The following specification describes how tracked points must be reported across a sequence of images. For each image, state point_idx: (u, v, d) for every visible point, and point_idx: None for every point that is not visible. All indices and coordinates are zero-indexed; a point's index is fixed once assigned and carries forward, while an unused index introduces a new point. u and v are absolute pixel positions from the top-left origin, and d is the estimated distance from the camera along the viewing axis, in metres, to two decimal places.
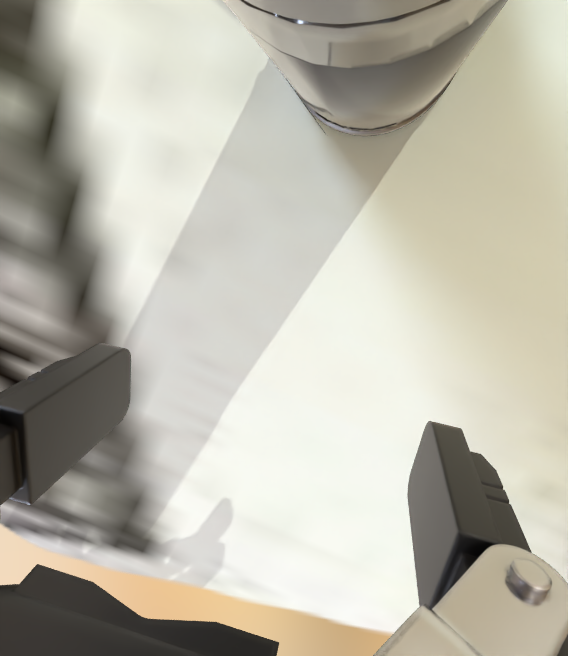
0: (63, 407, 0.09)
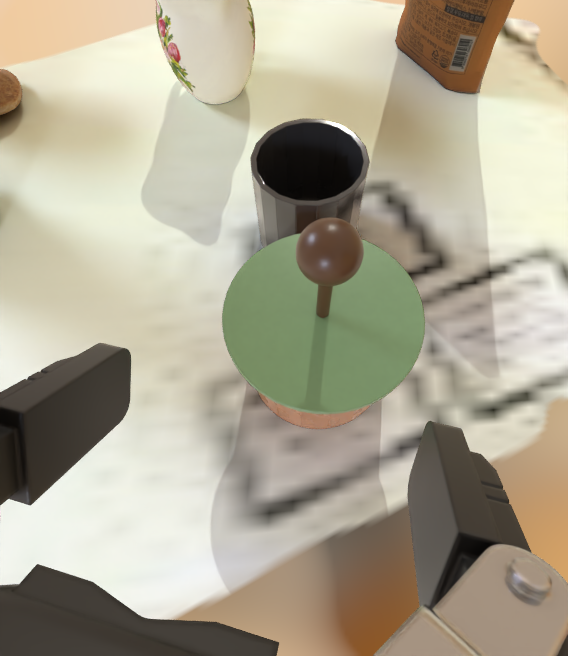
0: (63, 407, 0.09)
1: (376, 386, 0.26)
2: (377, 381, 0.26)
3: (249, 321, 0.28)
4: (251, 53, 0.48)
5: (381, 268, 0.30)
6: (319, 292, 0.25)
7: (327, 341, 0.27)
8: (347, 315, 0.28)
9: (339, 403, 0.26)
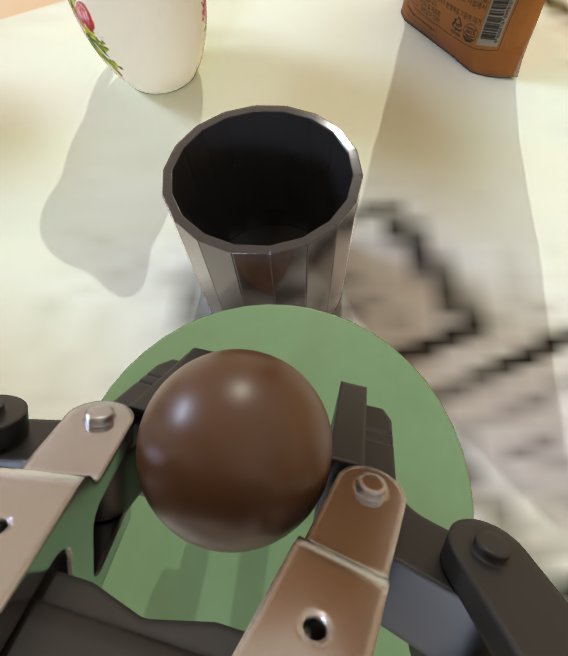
0: None
1: None
2: None
3: None
4: (200, 20, 0.34)
5: (383, 382, 0.15)
6: None
7: (270, 552, 0.13)
8: None
9: None
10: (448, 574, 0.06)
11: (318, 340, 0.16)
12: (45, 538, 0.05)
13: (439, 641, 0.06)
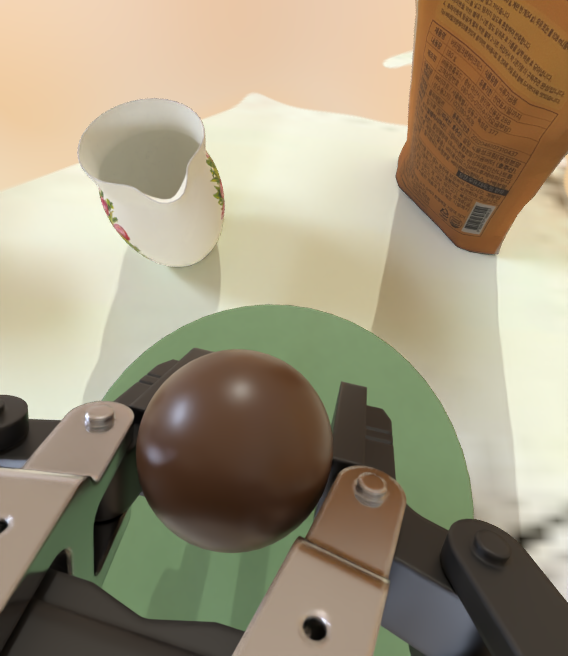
0: None
1: None
2: None
3: None
4: (219, 221, 0.40)
5: (383, 382, 0.15)
6: None
7: (270, 552, 0.13)
8: None
9: None
10: (448, 574, 0.06)
11: (318, 340, 0.16)
12: (45, 538, 0.05)
13: (439, 641, 0.06)
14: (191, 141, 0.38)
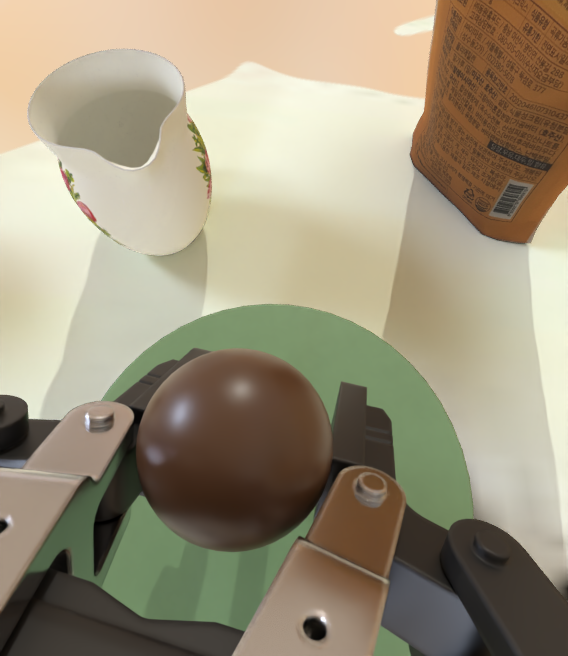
0: None
1: None
2: None
3: None
4: (205, 201, 0.33)
5: (383, 381, 0.15)
6: None
7: (270, 552, 0.13)
8: None
9: None
10: (448, 574, 0.06)
11: (317, 339, 0.16)
12: (45, 538, 0.05)
13: (439, 641, 0.06)
14: (172, 104, 0.32)
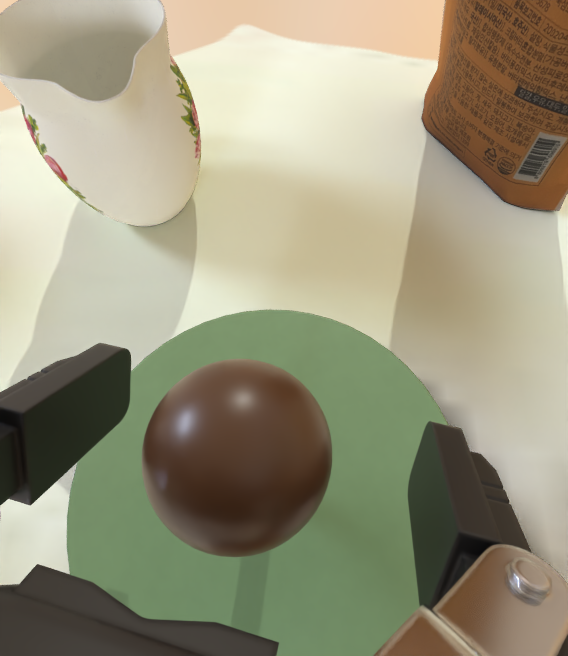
0: (63, 407, 0.09)
1: None
2: None
3: (121, 504, 0.14)
4: (192, 160, 0.29)
5: (382, 386, 0.16)
6: None
7: (271, 555, 0.13)
8: None
9: None
10: None
11: (317, 345, 0.17)
12: None
13: None
14: None
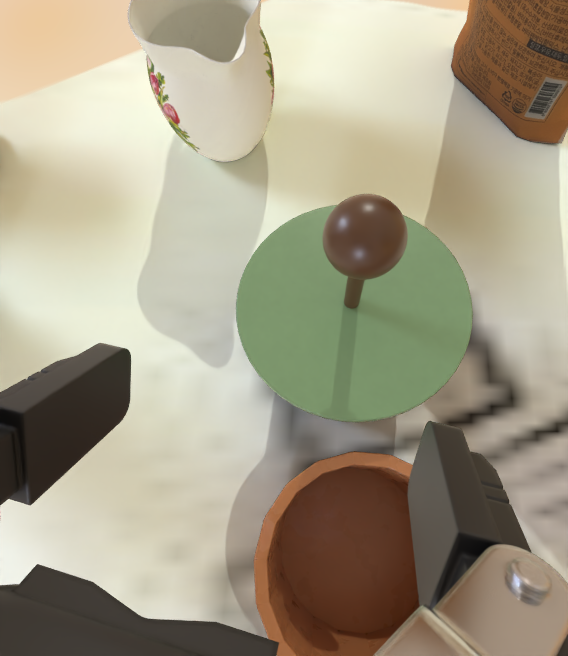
0: (63, 407, 0.09)
1: (414, 390, 0.22)
2: (416, 384, 0.23)
3: (267, 312, 0.25)
4: (269, 105, 0.38)
5: (421, 248, 0.25)
6: (349, 282, 0.21)
7: (356, 336, 0.24)
8: (380, 306, 0.24)
9: (371, 411, 0.22)
10: None
11: None
12: None
13: None
14: (241, 14, 0.36)
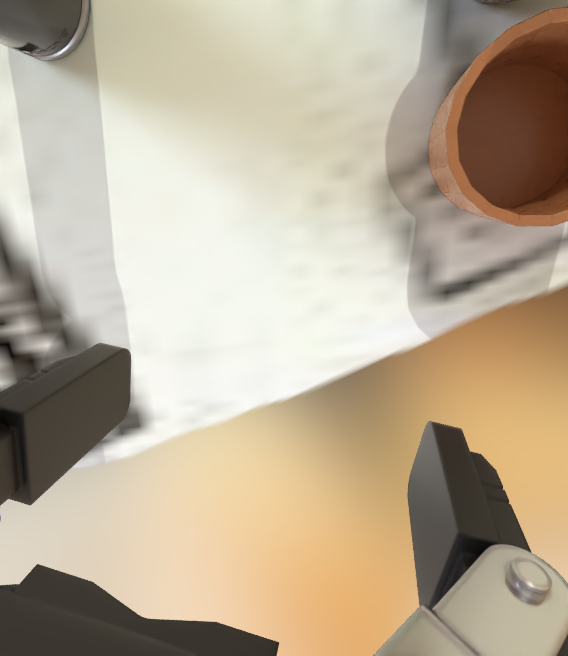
0: (63, 407, 0.09)
1: None
2: None
3: None
4: None
5: None
6: None
7: None
8: None
9: None
10: None
11: None
12: None
13: None
14: None
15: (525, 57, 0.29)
